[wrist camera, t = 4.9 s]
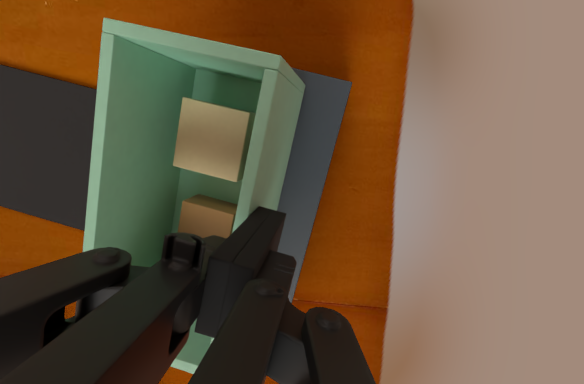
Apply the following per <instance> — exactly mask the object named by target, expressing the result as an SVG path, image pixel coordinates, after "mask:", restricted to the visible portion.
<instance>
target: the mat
mask: <svg viewBox="0 0 584 384" xmlns="http://www.w3.org/2000/svg"><path fill="white" fill-rule="evenodd" d="M96 94H97V89H93V88H89V87H85V86H81V85H77V84H73V83H69V82H66V81H62V80H58V79H54V78H50V77H46V76H42V75H38V74H35V73H31V72H27V71H23V70H19V69H15V68H11V67H8V66H4V65H0V206H2V207H6V208H9V209H13V210H16V211H19V212H23V213H26V214H29V215H33V216H36V217H40V218H43V219H46V220H50V221H53V222H57V223H60V224H63V225H67V226H70V227H73V228H77V229H80V230H84V231H85V220H86V209H87V197H88V186H89V174H90V163H91V151H92V140H93V129H94V117H95V106H96Z"/></svg>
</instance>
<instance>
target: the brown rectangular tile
mask: <svg viewBox="0 0 584 384" xmlns="http://www.w3.org/2000/svg"><path fill="white" fill-rule="evenodd" d="M237 206H238V204H234V203H230V202H227V201H223V200H220V199H216V198H212V197H209V196H205V195H201V194H197V195H195V196H192V197H190V198H188V199H186V200H183V201H182V207H181V214H180V220H179V226H178V232H184V233H191V234H195V235H198V236H200V237H202V238H205V237H208V236H212V235H216V236H219V237H223V238H226V239H227V238H228V237H229V236H230V235H231V234H232V231H233V226H234V221H235V216H236V211H237Z"/></svg>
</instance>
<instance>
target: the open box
mask: <svg viewBox="0 0 584 384" xmlns="http://www.w3.org/2000/svg"><path fill="white" fill-rule="evenodd" d="M102 31H103V32H102V37H101V48H100V60H99V71H98V83H97V94H96V106H95V117H94V129H93V140H92V151H91V163H90V174H89V186H88V197H87V209H86V220H85V232H84V243H83V252H85V251H89V250H92V249H97V248H106V247H113V248H114V247H115V248H119V249H122V250H125V251H127V252H128V253H130V254H131V257H132V260H131V265H132V266H142V267H151V266H153V265H154V264H155V263H157V262H158V261H159V260H161V256H162V250H163V244H164V237H165V235H167V234H169V233H176V232H178V226H179V220H180V214H181V207H182V201H183V200H186V199H188V198H190V197H192V196H195V195H197V194H201V195H205V196H209V197H212V198H216V199H220V200H223V201H227V202H230V203H234V204H238V206H237V211H236V216H235V221H234V226H233V231H232V233H233V232H234V231H235V230H236V229H237V228H238V227H239V226H240V225H241V224H242V223H243V222H244V221H245V220H246V219H247V218H248V217H249V216H250V215H251V214H252V213H253V212H254V211H255V210H256V209H257V208H258V207H259V206H261V207H265V208H268V209H272V210H276V211H277V208H278V204H279V200H280V195H281V191H282V186H283V182H284V178H285V173H286V169H287V165H288V160H289V156H290V151H291V147H292V143H293V138H294V134H295V129H296V125H297V121H298V116H299V112H300V108H301V103H302V99H303V94H304V90H305V84H304V83H303V81H302V80H301V79H300V78H299V77H298V75H297V74H296V73H295V72H294V71H293V69H292V68H291V67H290V66H289V65H288V63H287V62H286V61H285V60H284V59H283V58H282V56H280V55H276V54H272V53H267V52H262V51H258V50H253V49H248V48H244V47H239V46H234V45H230V44H225V43H220V42H216V41H211V40H207V39H202V38H197V37H193V36H188V35H183V34H179V33H174V32H169V31H165V30H160V29H155V28H151V27H146V26H141V25H137V24H132V23H127V22H123V21H118V20H114V19H109V18H104V19H103V28H102ZM183 97H187V98H192V99H196V100H201V101H206V102H211V103H215V104H219V105H224V106H228V107H232V108H236V109H241V110H245V111H249V112H253V113H256V115H255V120H254V125H253V130H252V135H251V140H250V145H249V150H248V155H247V160H246V165H245V170H244V175H243V179H242V180H240V181H238V182H233V181H229V180H225V179H222V178H218V177H214V176H210V175H206V174H202V173H199V172H195V171H191V170H187V169H183V168H179V167H176V166H173V160H174V153H175V147H176V140H177V133H178V126H179V119H180V112H181V105H182V98H183ZM196 321H197V319H196V320H195V321H194V323H193V324H192V326H191V328H190V333H189V338H188V340H187V343H186V344H185V345H184V347H183V348H182V350H181V351H180V353H179V354H178V355H177V357H176V358H175V360H174V361H173V363H172V364H171V367H174V368H177V369H180V370H183V371H186V372H189V373H192V374H194V372H195V371H196V369H197V367H198V365H199V364H200V362H201V360H202V359H203V357H204V355H205V353H206V352H207V350H208V348H209V346H210V345H211V343H212V341H213V340H214V338H212V337H209V336H206V335H202V334H199V333H196V332H194V331H195V326H196Z"/></svg>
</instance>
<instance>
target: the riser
mask: <svg viewBox="0 0 584 384" xmlns="http://www.w3.org/2000/svg"><path fill="white" fill-rule="evenodd" d="M292 69H293V71H294V72H295V73H296V74H297V75H298V77H299V78H300V79H301V80H302V81H303V83H304V84H305V90H304V94H303V99H302V103H301V108H300V112H299V116H298V121H297V125H296V129H295V134H294V138H293V143H292V147H291V151H290V156H289V160H288V165H287V169H286V173H285V178H284V182H283V186H282V191H281V195H280V200H279V204H278V208H277V211H279V212H283V213H287V214H286V218H285V222H284V226H283V230H282V234H281V238H280V243H279V247H278V251H277V252H280V253H283V254H287V255H290V256H294V258H295V260H296V262H297V265H296V268H295V272H294V276H293V280H292V284H291V287H290V291H289V295H288V298H289V301H290V302H291V304H292V300H293V296H294V293H295V289H296V285H297V282H298V278H299V274H300V271H301V267H302V264H303V260H304V256H305V253H306V249H307V245H308V242H309V238H310V234H311V231H312V227H313V224H314V220H315V216H316V213H317V209H318V205H319V202H320V198H321V194H322V191H323V187H324V184H325V180H326V176H327V173H328V169H329V165H330V162H331V158H332V154H333V151H334V147H335V143H336V140H337V136H338V133H339V129H340V125H341V122H342V118H343V114H344V111H345V107H346V103H347V100H348V96H349V93H350V89H351V85H352V82H349V81H345V80H341V79H337V78H333V77H328V76H324V75H320V74H316V73H312V72H308V71H304V70H299V69H295V68H292Z"/></svg>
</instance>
